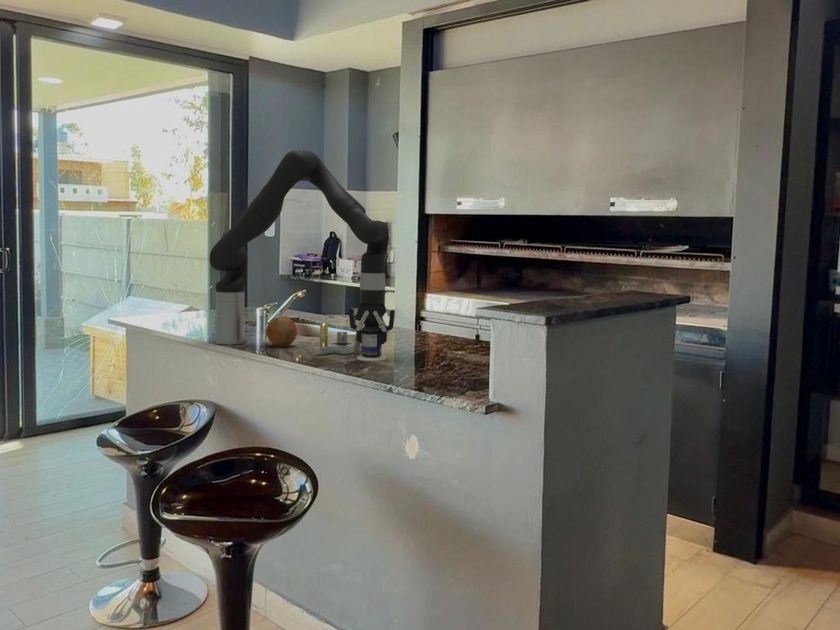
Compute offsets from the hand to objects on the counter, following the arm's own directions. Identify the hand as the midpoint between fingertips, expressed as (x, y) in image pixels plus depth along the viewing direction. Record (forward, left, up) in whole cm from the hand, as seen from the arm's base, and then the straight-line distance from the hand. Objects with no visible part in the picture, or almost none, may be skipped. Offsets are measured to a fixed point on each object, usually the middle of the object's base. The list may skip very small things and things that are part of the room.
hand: (371, 343), depth 231 cm
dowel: (-4, +5, -5) cm, 8 cm away
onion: (-27, +25, -5) cm, 37 cm away
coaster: (0, 0, -5) cm, 5 cm away
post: (-8, +15, -5) cm, 18 cm away
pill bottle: (0, 0, -4) cm, 4 cm away
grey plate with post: (-10, +13, -4) cm, 17 cm away
